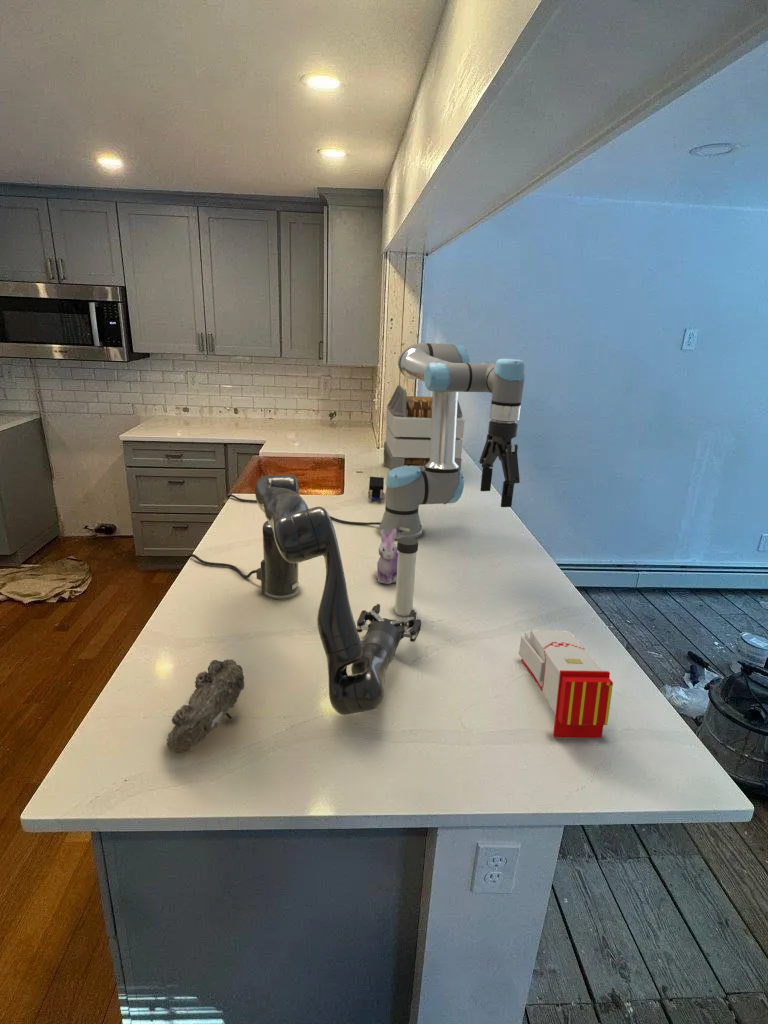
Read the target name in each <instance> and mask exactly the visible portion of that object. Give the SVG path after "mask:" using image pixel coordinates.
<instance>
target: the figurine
mask: <svg viewBox="0 0 768 1024" xmlns="http://www.w3.org/2000/svg"><path fill="white" fill-rule="evenodd" d="M395 536H396V529H393V530H392V531H391V533H390V534H389V536H387V534H386V532H385V530H381V534H380V541H381V543H380V545H379V547H378V554H379V556H380V557H379V558H378V560H377V562H376V569H377V571H376V574H375V577H376V579H377V582H378V583H380V584H386V585H390V584H392V583H396V580H397V562H398V550H397V543H396V542H395V541H396V540H395Z"/></svg>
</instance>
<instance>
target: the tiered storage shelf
mask: <svg viewBox="0 0 768 1024" xmlns="http://www.w3.org/2000/svg"><path fill="white" fill-rule="evenodd" d="M407 394H408V393H407V390H406V389H404V388H403V387H402V385H399V384H398V385H397V386H396V388H395V390H394V392H393V394H392V395H391V398H390V400H389V402H388V404H387V405H386V413H385V414H386V415H385V423H386V428H385V438H384V442H383V466H384V467H388V468H389V471H390V470H392V469H394V468H397V467H401V466H416V467H425V465H426V464H427V463H428V462H429V461H430V442H431V417H432V396H415V395H414V396H413V395H412V396H411V395H407ZM464 429H465V419H464V418H463V411H462V408H461V405H460V402H459V401H458V402H457V422H456V441H455V463H456V464H457V465H458V466H459V468H458V470H460V471H461V472H462V461H463V460H462V453H463V442H464V441H463V440H462V439H463V438H464V431H465V430H464Z"/></svg>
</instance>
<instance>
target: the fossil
mask: <svg viewBox="0 0 768 1024" xmlns="http://www.w3.org/2000/svg"><path fill="white" fill-rule="evenodd" d="M243 670H244V669H243V667H242V665H240V664H237V662H236V661H235V660H234V659H232V658H231V659H227V658H226V659H224V660H223V661H222V660H217V659H212V660H211V661H210V663H209V665H208V666H207V671H201V672H199V673H198V674H197V675H196V676H195V680H194V684H195V685H194V687H195V689H194V690H193V693H192V694H191V697H190V698H189V700H188V704H184V705H182V706H181V707H180V709H177V710H176V711H175V713H174V715H173V716H172V718H171V723H172V724H173V727H172V730H171V731H170V732H168V734H167V738H166V741H167V742H166V745H167V749H168V750H169V751H173V752H174V753H176V754H178V753H182V752H188V751H189V752H192V751H193V750H195V748H196V747H197V746H199V744H200V743H201V742H203V741H204V740H205V739H206V738H207V737H208V736H209V735H210V734H211V733H212V732H214V730H215V729H217V727H218V726H219V724H220V722H221V721H222V720H223V719H224V718H225V716H226V717H227V719H229V720H233V717H232V715H230V714H229V710H230V709H231V708H234V706H235V704H236V703H237V702H238V699H239V697H240V695H241V693H242V691H243V690H245V689H244V688H245V675H244V671H243Z"/></svg>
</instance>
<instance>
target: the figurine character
mask: <svg viewBox="0 0 768 1024" xmlns="http://www.w3.org/2000/svg"><path fill="white" fill-rule="evenodd" d="M384 488H385V477H381V476H369V484H368V492H367V494H368V499H370V501H371V502H372V503H373V502H374V500H375V501H376V500H377V502H378V503H380V502H381V499H384V495H385V493H384Z"/></svg>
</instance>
